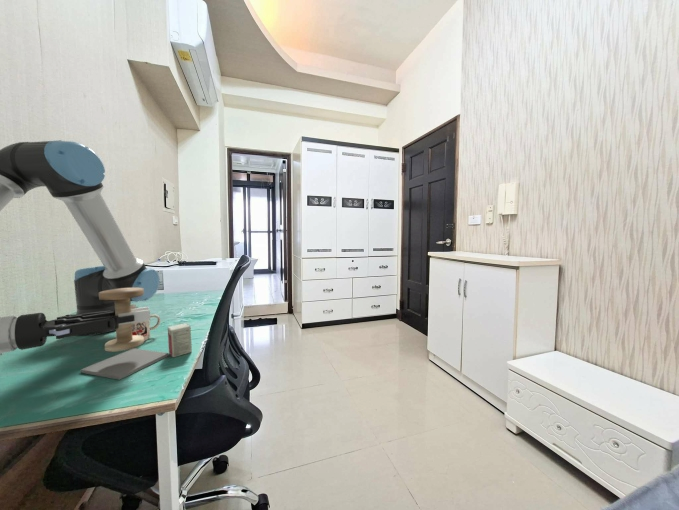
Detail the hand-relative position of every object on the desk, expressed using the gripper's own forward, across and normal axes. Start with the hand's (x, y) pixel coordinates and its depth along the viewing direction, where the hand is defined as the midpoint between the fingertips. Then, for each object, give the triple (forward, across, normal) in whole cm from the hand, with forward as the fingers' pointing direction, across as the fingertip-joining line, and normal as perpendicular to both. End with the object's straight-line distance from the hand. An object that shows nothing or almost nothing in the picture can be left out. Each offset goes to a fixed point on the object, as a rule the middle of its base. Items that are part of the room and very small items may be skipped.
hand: (149, 313), depth 73 cm
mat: (-5, 0, -13) cm, 14 cm away
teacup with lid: (-2, -20, -13) cm, 24 cm away
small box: (+7, +1, -13) cm, 15 cm away
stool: (-5, 0, -8) cm, 9 cm away
